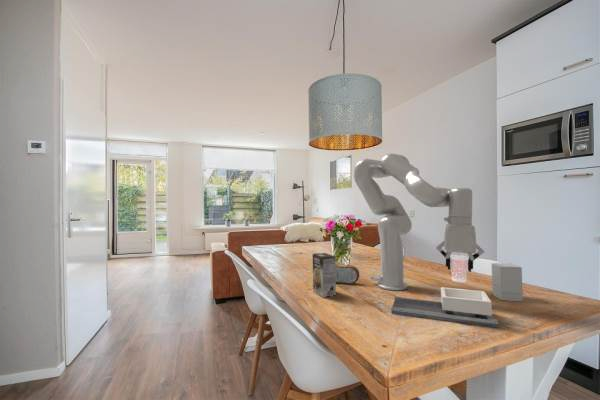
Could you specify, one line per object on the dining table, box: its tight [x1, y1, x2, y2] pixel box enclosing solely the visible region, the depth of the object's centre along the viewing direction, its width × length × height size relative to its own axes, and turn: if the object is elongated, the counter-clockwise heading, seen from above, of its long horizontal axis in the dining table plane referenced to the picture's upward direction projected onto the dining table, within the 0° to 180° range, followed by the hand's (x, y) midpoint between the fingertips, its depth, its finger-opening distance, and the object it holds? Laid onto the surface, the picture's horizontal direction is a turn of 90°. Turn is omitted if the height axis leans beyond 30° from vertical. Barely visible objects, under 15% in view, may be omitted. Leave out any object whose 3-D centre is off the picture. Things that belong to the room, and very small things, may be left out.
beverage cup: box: [450, 253, 469, 283], centre depth 105 cm, size 6×6×14 cm
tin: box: [335, 263, 360, 285], centre depth 132 cm, size 15×3×8 cm, turn 71°
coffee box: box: [312, 252, 337, 298], centre depth 117 cm, size 9×6×16 cm
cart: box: [440, 286, 493, 319], centre depth 91 cm, size 13×11×6 cm
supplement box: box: [491, 262, 524, 302], centre depth 108 cm, size 7×7×13 cm
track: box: [390, 296, 499, 329], centre depth 94 cm, size 30×12×2 cm, turn 66°
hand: (459, 269), depth 105 cm, fingers closed on beverage cup, 6 cm apart
